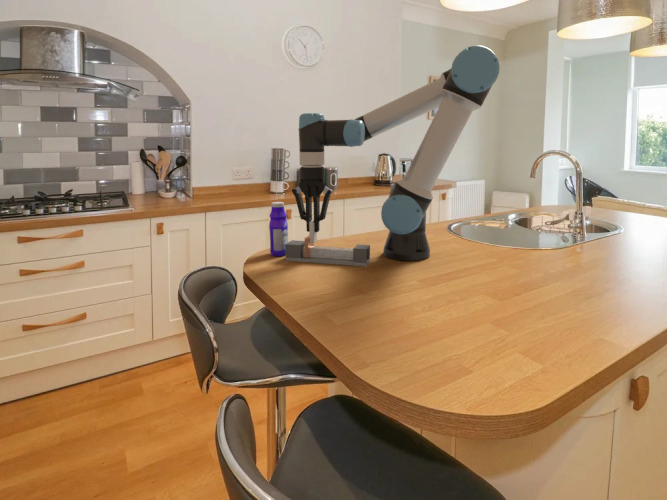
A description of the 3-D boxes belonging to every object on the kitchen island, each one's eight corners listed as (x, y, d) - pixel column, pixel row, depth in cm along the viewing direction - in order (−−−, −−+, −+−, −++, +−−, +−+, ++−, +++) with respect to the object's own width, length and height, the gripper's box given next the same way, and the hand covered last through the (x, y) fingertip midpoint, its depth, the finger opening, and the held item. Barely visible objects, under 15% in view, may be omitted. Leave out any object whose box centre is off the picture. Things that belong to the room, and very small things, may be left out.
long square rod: (364, 257, 148) (365, 238, 146) (361, 261, 143) (361, 241, 142) (301, 253, 154) (301, 234, 152) (296, 257, 149) (295, 237, 147)
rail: (369, 261, 148) (370, 245, 147) (365, 266, 143) (365, 249, 141) (292, 255, 155) (292, 240, 154) (285, 260, 150) (285, 244, 148)
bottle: (284, 257, 153) (282, 204, 149) (267, 256, 155) (265, 203, 150) (290, 252, 160) (289, 201, 156) (274, 251, 162) (273, 200, 157)
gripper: (336, 165, 145) (336, 240, 150) (296, 165, 148) (298, 238, 154) (329, 167, 138) (329, 245, 143) (287, 166, 141) (289, 243, 147)
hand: (313, 241), depth 149 cm, fingers closed
